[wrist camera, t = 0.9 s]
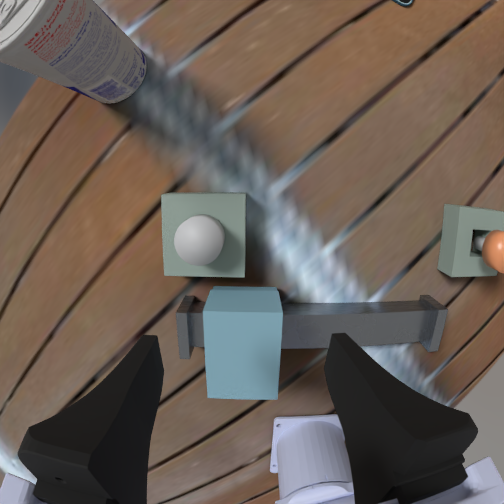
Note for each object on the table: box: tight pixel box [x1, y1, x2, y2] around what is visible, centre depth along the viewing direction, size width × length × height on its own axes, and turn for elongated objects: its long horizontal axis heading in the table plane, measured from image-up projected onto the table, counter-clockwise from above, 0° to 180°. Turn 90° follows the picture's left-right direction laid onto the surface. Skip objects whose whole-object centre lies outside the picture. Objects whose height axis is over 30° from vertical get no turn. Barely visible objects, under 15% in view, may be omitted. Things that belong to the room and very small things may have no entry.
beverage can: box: [0, 0, 147, 104], centre depth 15 cm, size 6×6×15 cm
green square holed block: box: [437, 204, 504, 277], centre depth 24 cm, size 6×6×2 cm
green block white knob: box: [161, 192, 246, 277], centre depth 23 cm, size 6×6×5 cm
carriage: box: [203, 286, 283, 399], centre depth 24 cm, size 7×5×6 cm
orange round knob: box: [473, 230, 504, 274], centre depth 21 cm, size 3×3×4 cm
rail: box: [176, 295, 448, 359], centre depth 25 cm, size 4×22×4 cm, turn 89°
